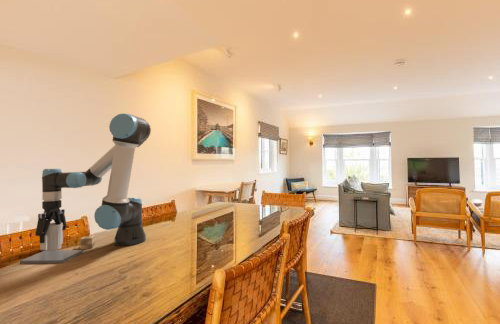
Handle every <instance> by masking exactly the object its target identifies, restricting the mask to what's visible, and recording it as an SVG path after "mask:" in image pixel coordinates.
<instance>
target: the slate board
mask: <svg viewBox="0 0 500 324" xmlns="http://www.w3.org/2000/svg"><path fill="white" fill-rule="evenodd" d="M82 253H84V249H63V250H62V249H57V250H41V252H40V251H39V252H38V253H36V254H32V255H30V256H28V257H26V258H23V259H20V260H19V264H63V263H65V262H67V261H69V260H71V259H73V258H75V257H77V256H79V255H81V254H82Z"/></svg>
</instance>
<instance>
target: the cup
mask: <svg viewBox="0 0 500 324" xmlns="http://www.w3.org/2000/svg"><path fill="white" fill-rule="evenodd" d="M63 226H64V225H63V223H60V224H59V225H56V224H55V222H50V224H49V227H48V230H47V233H46V235H47V250H61V249H62V244H61V240H62V227H63Z"/></svg>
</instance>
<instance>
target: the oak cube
mask: <svg viewBox="0 0 500 324" xmlns="http://www.w3.org/2000/svg"><path fill="white" fill-rule="evenodd" d="M95 237H96V235H87V236H86V235H85V236H82V237H81V238H79V239H80V241H79V242H80V245H79V246H80V249H79V250H87V249H93V248H94V247H95V246H96V238H95Z"/></svg>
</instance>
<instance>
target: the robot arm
mask: <svg viewBox="0 0 500 324" xmlns="http://www.w3.org/2000/svg"><path fill="white" fill-rule="evenodd" d="M108 127H109V132H110V134H111V135H112V136H113V137H112V140H111V141H112V143H113V144H114V145H113V146H112V147H111V148H110V149H109V150H108V151H107V152H106V153H105V154H103V155H102V156H101V157H100V158H99V159H98V160H97V161H95V163H94V164H92V166H90V167H89V168H88V169H87V170H85V171H73V172H72V171H71V172H70V171H69V172H68V171H67V172H62V169H61V168H44V169H43V170H42V172H41V173H42V174H41V183H42V185H41V186H42V187H41V188H42V189H41V190H42V191H41V192H42V197H41V199H42V202H41V207H42V210H43V213H38V214H37V224H36V230H35V236H37V237H39V244H40V246H39V248H40V251H45V250H47V235H46V233H47V230H48V227H49V224H50V223H52V222H53V223H55V224H56V225H59V224H60V223H63V227H62V240H61V245H62V244H63V243H64V231H65V230H66V229H67V227H68V225H67V220H66V215H65V212H66V211H65V210H66V209H60V208H62V200H61V199H62V197H63V196H62V189H64V188H65V189H78V188H83V187H90V186H95V185H99V184H100V183H101V182H102V179H103V177H104V176H105V175H106V174H107V173H109V171H110V176H109V181H108V186H107V192H106V193H107V194H106V195H105V196H104V197H103V198H102V200H101V201H102V202H101V205H100V206H98V208H96V209H95V212H94V221H95V223H96V224H97V226H98V227H99V228H101V229H103V230H105V231H107V230H113V229H116V233H115V236H114V239H113V241H114V245H116V246H121V247H122V246H133V245H137V244H140V243H144V242H145V241H146V240H147V237H146V236H147V234H146V232H145V229H144V227H143V203H142V199H141V198H140V197H128V192H129V187H130V181H131V174H132V169H133V162H134V159H135V151H136V148H139V147H140V146H142V145H143V144H144V143H145V142H146V141H147V140H148V139H149V137H150V136H151V131H152V128H151V125H150V124H149V122H148V121H147V120H146V119H144V118H142V117H139V116H137V115H134V114H130V113H119V114H116V115H115V116H113V118H111V120H110V121H109V126H108Z"/></svg>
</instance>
